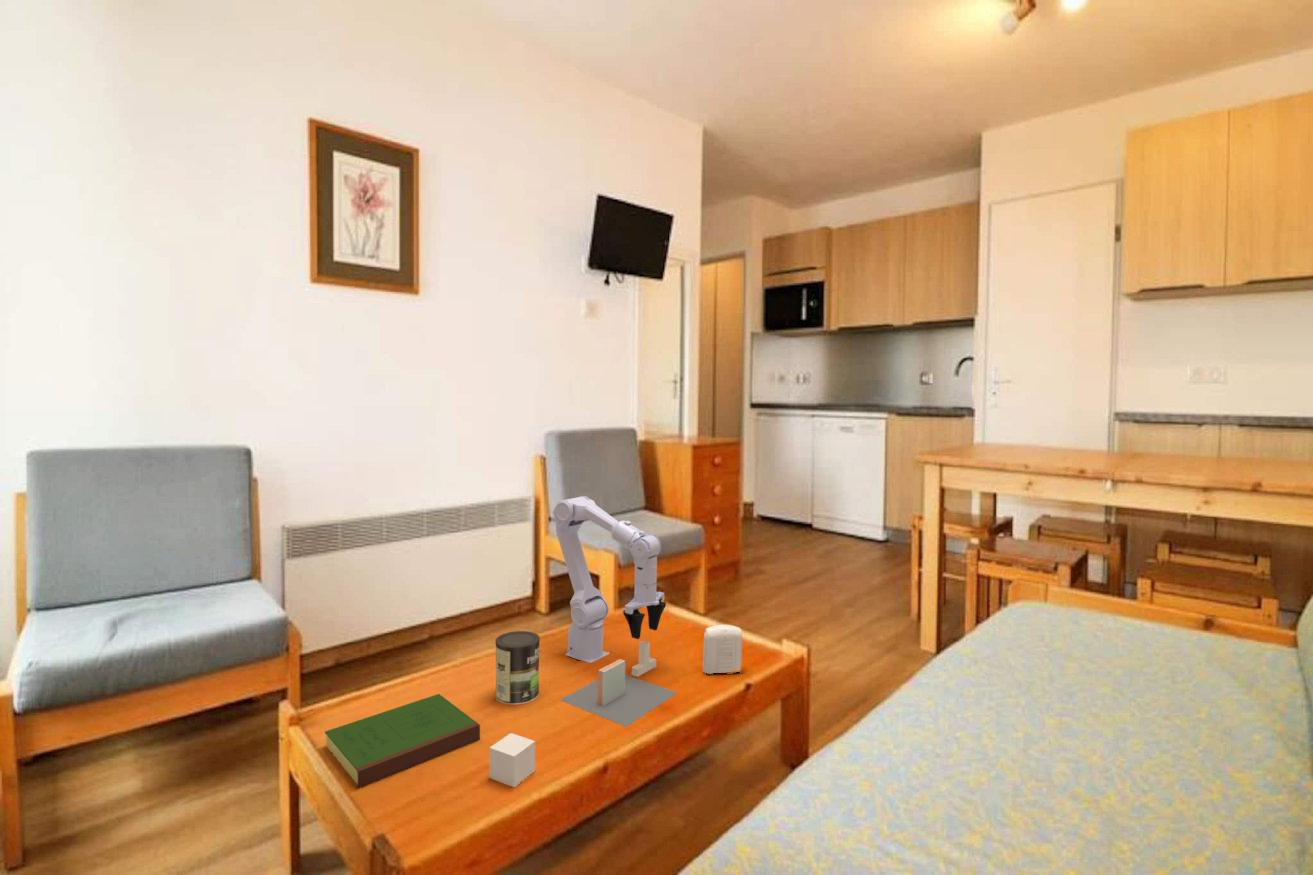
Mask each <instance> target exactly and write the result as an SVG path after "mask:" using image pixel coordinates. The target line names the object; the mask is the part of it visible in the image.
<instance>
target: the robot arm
mask: <svg viewBox="0 0 1313 875" xmlns="http://www.w3.org/2000/svg"><path fill="white" fill-rule="evenodd" d="M552 514H553V517H554V520H555V532H556V536H557V539H558V543H559V546H560V549H561V553H562V555H563V559H564V562H565V566H566V570H567V573H568V575H569V576H568V577H569V579H570V582H571V585H572V586H571V587H572V589H573V593H574V594H573V595H572V597H571V600H570V601H569V606H570V617H571V620H572V622H571V624H570V625H569V627H568V630H567V652H566V653H565V656H567V657H570V658H573V659H575V660H579V661H584V662H587V663H591V664H592V663H593V662H596V661H597V660H600V659H602V658H604V657H606V656H608V655H610V652H609V651H604V650H603V649H604V648H603V647H604V646H603V645H604V644H603V643H604V642H603V641H604V640H603V639H604V623H605V618H607V616H608V614H609V611H610V610H609V605H608V602H607V601H606V599H605V598H604V596H603V594H602V591H601V590H600V589H599V588H596V587H595V586H594V584H593V581H592V577H591V573H590V570H589V567H588V562H587V561H586V557H585V555H584V551H583V547H582V545H581V541H580V537H579V535H578V532H579V530H580V528H581V526H582V525H583V524H584V523H585V521H588V520H589V521H590V522H592V523H593V524H595V525H597V526H599V527H601V528H603V529H605V530H606V531H607V532H610V534H611V538H612V540H614V541H615V542H617V543H619V544H620V545H622V546H623V547H625V549H627V550H629V551H630V554H631V556H632V559H633V564H634V586H633V587H634V593H633V595H634V597H633V598H632V599H631V600H630V601H629V602H628V603H627V604H625V605H624V609H623V610H622V611H623V612H622V613H623V614H622V615H624V618H625V620H626V621H627V624H628V626H629V631H630V637H631V638H633V639H636V640H639V639H640V638H641V633H642V625H643V620H644V617H645V616H646V614H645V613H643V612H642V613H641V612H640V610H641V609H643V608H645V607H646V611H647V616H648V617H647V618H648V621H647V622H648V629H649V630H652V631H657V630H658V627H659V623H660V621H661V617H662V614H663V612H664V610H665V608H666V607H667V603H666V602H664V600H665V592H662V591H657V578H658V577H657V576H658V573H657V571H658V555H660V554H661V551H662V546H663V545H662V541H661V539H660V538H659V537H658V536H657V535H656V534H654V533H646V531H644V530H640V529H639V528H637V527H635V525H632V522H631V521H630V520H620V521H618V520H617V519H616V518H614V517H613V516H611V515H610V514H609V513H608V512H606V511H605V510H604V509H603V508H601V507H599V506H598V505H597V504H596V502H595V501H594V500H593V499H590V498H589V497H588V496H586V495H581V496H578V497H573V498H568V499H560V500H559V501H558V502H557V503H556V505H555V506H554V509H553V511H552Z"/></svg>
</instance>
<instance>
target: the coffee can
mask: <svg viewBox="0 0 1313 875" xmlns="http://www.w3.org/2000/svg"><path fill="white" fill-rule="evenodd" d="M540 639H541V637H540V636H539V634H538V633H535V632H532V631H525V630H521V631H520V630H518V631H517V630H516V631H510V632H506V633H502V634H501V635H498V636H497V637H496V639H495V700H496V702H500V703H502V704H506V705H521V704H522V705H523V704H527V703H530V702H532V701H534V700H535V699H537V698H538V696H540V695H539V694H540Z"/></svg>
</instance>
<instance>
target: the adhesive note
mask: <svg viewBox="0 0 1313 875" xmlns="http://www.w3.org/2000/svg"><path fill="white" fill-rule="evenodd" d="M535 771H536V741H535V740H533V739H530V738H527V737H524V736H521V735H519V734H516V733H509V734H507V735H506V736H504V737H503V738H501V739H500V740H499V741H497V742H496V743H494V744H492V745H491V746H490V747H489V779H491V780H494V781H496V782H499V783H501V784H504V785H507V786H510V787H513V788H515V787H518V785H519V784H520V782H521V781H522V782H523V781H524V780H526V779H527V778H528V777H530V776H531V775H530V774H533V773H534V772H535ZM527 776H528V777H527ZM525 778H526V779H525ZM522 782H521V783H522Z"/></svg>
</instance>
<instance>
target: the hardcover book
mask: <svg viewBox="0 0 1313 875" xmlns="http://www.w3.org/2000/svg"><path fill="white" fill-rule="evenodd" d="M324 734H325V736H326V748H327V747H328V748H329V749H330V750H329V749H328V748H327V749H328V750H329V752H330V753H331V752H332V753H333V754H332V753H331V754H332V755H333V757H334V758H335V757H336V758H337V759H336V758H335V759H336V760H337V761H338V763H339V762H340V763H341V764H340V763H339V764H340V765H341V767H342V768H343V769H344V770H345V771H346V773H347V774H348V775H349V777H350V778H352V780H353V781H354V783H356V785H357V789H361V788H364V787H366V786H369V785H371V784H374V783H376V782H379V781H382V780H384V779H386V778H389V777H391V776H394V775H396V774H399V773H401V772H403V771H406V770H409V769H411V768H413V767H416V766H419V765H420V764H424V763H426V762H428V761H430V760H434V759H436V758H438V757H441V756H444V755H446V754H448V753H451V752H453V751H457V750H458V749H461V748H463V747H465V746H468V745H471V744H473V743H476V742H478V741H480V740H481V724H480V723H478V722H477V721H475V720H474V719H473V718H472V717H470V716H469V715H467V714H466V713H465V712H464V711H462V710H461V709H460V708H458V707H457V706H455V704H453V703H452V702H450V701H449V700H448V699H446V698H445V697H444V696H443V695H442V694H440V693H437V694H434V695H431V696H428V697H424V698H422V699H419V700H415V701H413V702H410V703H407V704H404V705H401V706H398V707H395V708H391V709H388V710H386V711H383V712H379V713H377V714H374V715H371V716H368V717H364V718H362V719H358V720H356V721H353V722H350V723H347V724H343V725H340V726H338V727H334V728H331V729H328V730H325V731H324Z"/></svg>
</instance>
